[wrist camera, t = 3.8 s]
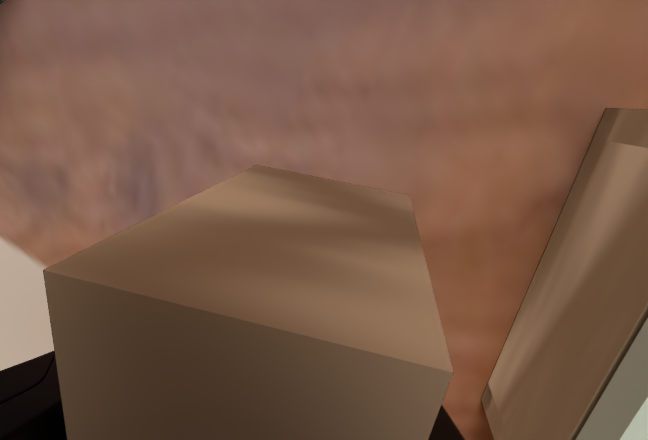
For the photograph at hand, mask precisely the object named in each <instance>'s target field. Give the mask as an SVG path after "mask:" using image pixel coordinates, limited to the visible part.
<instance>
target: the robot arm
mask: <svg viewBox="0 0 648 440" xmlns="http://www.w3.org/2000/svg"><path fill="white" fill-rule="evenodd" d="M0 440H67V434H66V427H65V420H64V413H63V406H62V399H61V392H60V385H59V378H58V371H57V364H56V357H55V351H52V352H50V353H47V354H44V355H42V356H39V357H37V358H34V359H32V360H29V361H26V362H23V363H21V364H18V365H15V366H12V367H10V368H7V369H4V370H2V371H0ZM428 440H465V439H464V438H463V436H462V435H461V433H460V431H459V430H458V428H457V427H456V425H455V424H454V422H453V421H452V419H451V418H450V416H449V415H448V413H447V412H446V410H445V409H444V407H443V406H442V404H441V407H440V409H439V412H438V415H437V417H436V420H435V423H434V425H433V428H432V431H431V433H430V436H429V439H428Z"/></svg>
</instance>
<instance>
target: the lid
mask: <svg viewBox="0 0 648 440" xmlns="http://www.w3.org/2000/svg"><path fill="white" fill-rule="evenodd" d="M576 440H648V318H647V320H646V321H645V323H644V325H643V327H642V328H641V330H640V332H639V333H638V335H637V337H636V338H635V340H634V342H633V343H632V345H631V347H630V349H629V350H628V352H627V354H626V355H625V357H624V359H623V360H622V362H621V364H620V365H619V367H618V369H617V371H616V372H615V374H614V376H613V377H612V379H611V381H610V382H609V384H608V386H607V387H606V389H605V391H604V393H603V394H602V396H601V398H600V399H599V401H598V403H597V404H596V406H595V408H594V409H593V411H592V413H591V415H590V416H589V418H588V420H587V421H586V423H585V425H584V426H583V428H582V430H581V431H580V433H579V435H578V437H577V438H576Z"/></svg>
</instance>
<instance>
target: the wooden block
mask: <svg viewBox="0 0 648 440" xmlns="http://www.w3.org/2000/svg"><path fill="white" fill-rule="evenodd" d="M43 274H44V280H45V287H46V294H47V302H48V308H49V316H50V323H51V329H52V336H53V343H54V350H55V357H56V364H57V371H58V378H59V385H60V392H61V399H62V406H63V413H64V420H65V427H66V434H67V440H428V439H429V436H430V433H431V431H432V428H433V425H434V423H435V420H436V417H437V415H438V412H439V409H440V407H441V404H442V402H443V399H444V396H445V394H446V391H447V388H448V386H449V383H450V380H451V378H452V375H453V369H452V365H451V361H450V357H449V353H448V349H447V345H446V341H445V337H444V333H443V329H442V325H441V321H440V317H439V313H438V309H437V305H436V301H435V296H434V292H433V288H432V284H431V280H430V276H429V272H428V268H427V264H426V260H425V256H424V252H423V248H422V244H421V240H420V236H419V232H418V228H417V224H416V220H415V216H414V212H413V208H412V204H411V200H410V196H409V195H405V194H400V193H395V192H390V191H385V190H380V189H375V188H370V187H365V186H360V185H355V184H350V183H345V182H340V181H335V180H330V179H325V178H320V177H315V176H310V175H305V174H300V173H295V172H290V171H285V170H280V169H275V168H270V167H265V166H260V165H255V166H253V167H251V168H249V169H247V170H245V171H243V172H241V173H239V174H237V175H235V176H233V177H231V178H229V179H227V180H225V181H223V182H221V183H219V184H217V185H215V186H213V187H211V188H209V189H207V190H204V191H202V192H200V193H198V194H196V195H194V196H192V197H190V198H188V199H186V200H184V201H182V202H180V203H178V204H176V205H174V206H172V207H170V208H168V209H166V210H164V211H162V212H160V213H158V214H156V215H154V216H152V217H150V218H148V219H146V220H144V221H142V222H139V223H137V224H135V225H133V226H131V227H129V228H127V229H125V230H123V231H121V232H119V233H117V234H115V235H113V236H111V237H109V238H107V239H105V240H103V241H101V242H99V243H97V244H95V245H93V246H91V247H89V248H87V249H85V250H83V251H81V252H79V253H77V254H74V255H72V256H70V257H68V258H66V259H64V260H62V261H60V262H58V263H56V264H54V265H52V266H50V267H48V268H46V269H44V270H43Z"/></svg>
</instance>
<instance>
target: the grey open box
mask: <svg viewBox="0 0 648 440" xmlns="http://www.w3.org/2000/svg"><path fill="white" fill-rule="evenodd" d="M647 318H648V109H623V108H606V109H605V112H604V114H603V116H602V119H601V121H600V123H599V126H598V128H597V130H596V133H595V135H594V137H593V140H592V142H591V144H590V147H589V149H588V151H587V154H586V156H585V158H584V161H583V163H582V165H581V168H580V170H579V172H578V175H577V177H576V179H575V182H574V184H573V186H572V189H571V191H570V193H569V195H568V198H567V200H566V202H565V205H564V207H563V209H562V212H561V214H560V216H559V219H558V221H557V223H556V226H555V228H554V230H553V233H552V235H551V237H550V240H549V242H548V244H547V247H546V249H545V251H544V254H543V256H542V258H541V261H540V263H539V265H538V268H537V270H536V272H535V275H534V277H533V279H532V282H531V284H530V286H529V289H528V291H527V293H526V296H525V298H524V300H523V303H522V305H521V307H520V310H519V312H518V314H517V317H516V319H515V321H514V323H513V326H512V328H511V330H510V333H509V335H508V337H507V340H506V342H505V344H504V347H503V349H502V351H501V354H500V356H499V358H498V361H497V363H496V365H495V368H494V370H493V372H492V375H491V377H490V379H489V382H488V384H487V386H486V389H485V391H484V393H483V396H482V398H481V401H482V404H483V407H484V410H485V413H486V416H487V420H488V423H489V426H490V429H491V432H492V435H493V438H494V440H576V438H577V437H578V435H579V433H580V431H581V430H582V428H583V426H584V425H585V423H586V421H587V420H588V418H589V416H590V415H591V413H592V411H593V409H594V408H595V406H596V404H597V403H598V401H599V399H600V398H601V396H602V394H603V393H604V391H605V389H606V387H607V386H608V384H609V382H610V381H611V379H612V377H613V376H614V374H615V372H616V371H617V369H618V367H619V365H620V364H621V362H622V360H623V359H624V357H625V355H626V354H627V352H628V350H629V349H630V347H631V345H632V343H633V342H634V340H635V338H636V337H637V335H638V333H639V332H640V330H641V328H642V327H643V325H644V323H645V321H646V320H647Z"/></svg>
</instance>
